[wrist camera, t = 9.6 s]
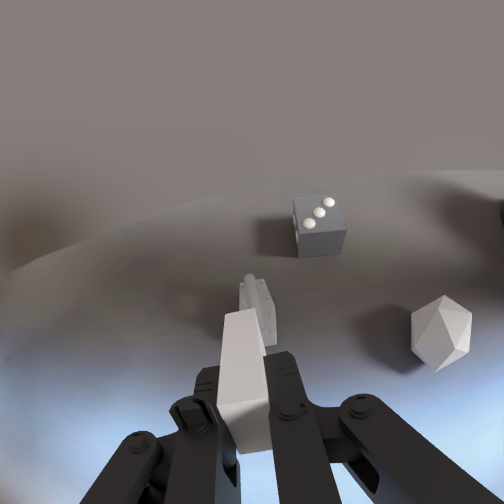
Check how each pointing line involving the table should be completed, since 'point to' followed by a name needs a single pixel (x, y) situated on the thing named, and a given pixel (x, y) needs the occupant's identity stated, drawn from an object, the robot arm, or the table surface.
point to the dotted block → (318, 225)
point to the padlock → (259, 306)
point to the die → (440, 332)
